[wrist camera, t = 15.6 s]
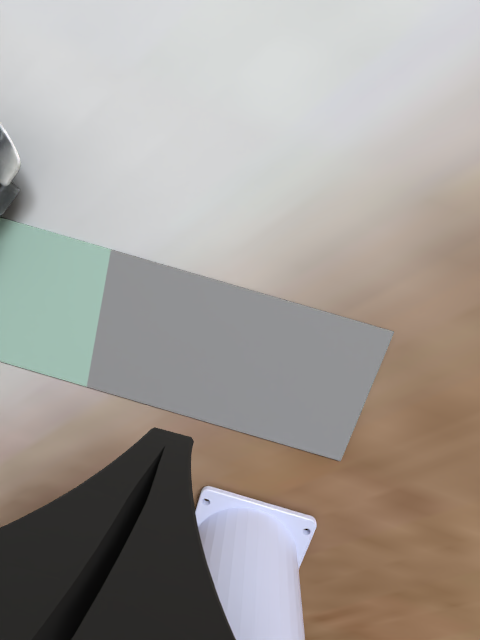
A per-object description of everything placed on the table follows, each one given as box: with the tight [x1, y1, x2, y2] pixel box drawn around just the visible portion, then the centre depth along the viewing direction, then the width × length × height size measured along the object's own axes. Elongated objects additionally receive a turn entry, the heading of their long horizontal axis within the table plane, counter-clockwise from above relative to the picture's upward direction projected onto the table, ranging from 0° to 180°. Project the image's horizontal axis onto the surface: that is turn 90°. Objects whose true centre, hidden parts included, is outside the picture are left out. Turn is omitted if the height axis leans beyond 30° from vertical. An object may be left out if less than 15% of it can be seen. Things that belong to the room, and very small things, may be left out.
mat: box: [0, 217, 394, 461], centre depth 21 cm, size 9×39×1 cm, turn 74°
